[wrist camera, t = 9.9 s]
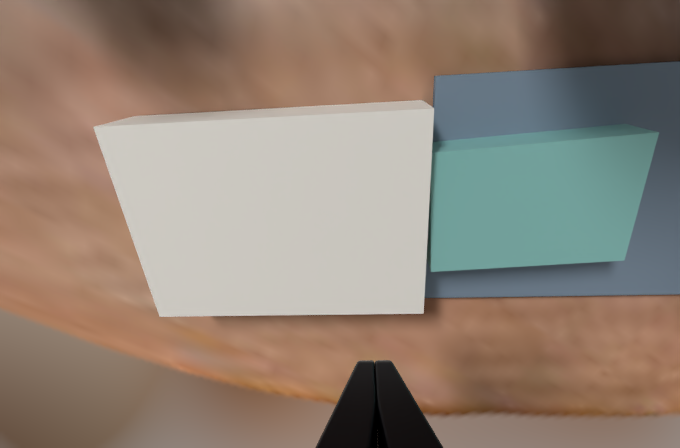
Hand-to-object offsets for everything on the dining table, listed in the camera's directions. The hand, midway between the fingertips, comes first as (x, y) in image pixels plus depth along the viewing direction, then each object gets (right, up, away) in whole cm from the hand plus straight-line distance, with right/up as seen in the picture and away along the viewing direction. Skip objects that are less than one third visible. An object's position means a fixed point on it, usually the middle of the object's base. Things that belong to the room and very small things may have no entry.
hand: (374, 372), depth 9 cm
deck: (-4, +5, +10) cm, 12 cm away
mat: (+11, +5, +9) cm, 15 cm away
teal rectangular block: (+8, +5, +9) cm, 13 cm away
